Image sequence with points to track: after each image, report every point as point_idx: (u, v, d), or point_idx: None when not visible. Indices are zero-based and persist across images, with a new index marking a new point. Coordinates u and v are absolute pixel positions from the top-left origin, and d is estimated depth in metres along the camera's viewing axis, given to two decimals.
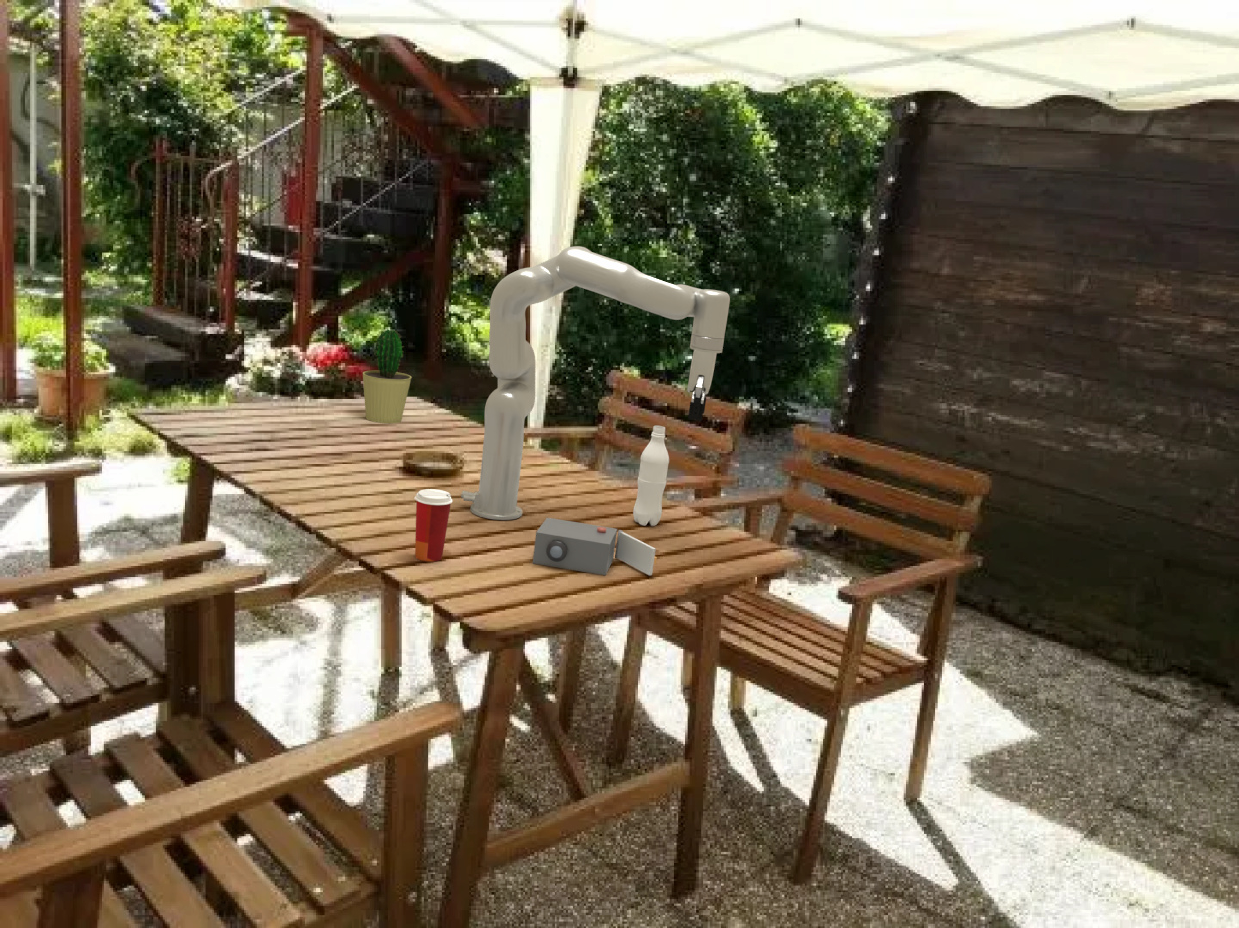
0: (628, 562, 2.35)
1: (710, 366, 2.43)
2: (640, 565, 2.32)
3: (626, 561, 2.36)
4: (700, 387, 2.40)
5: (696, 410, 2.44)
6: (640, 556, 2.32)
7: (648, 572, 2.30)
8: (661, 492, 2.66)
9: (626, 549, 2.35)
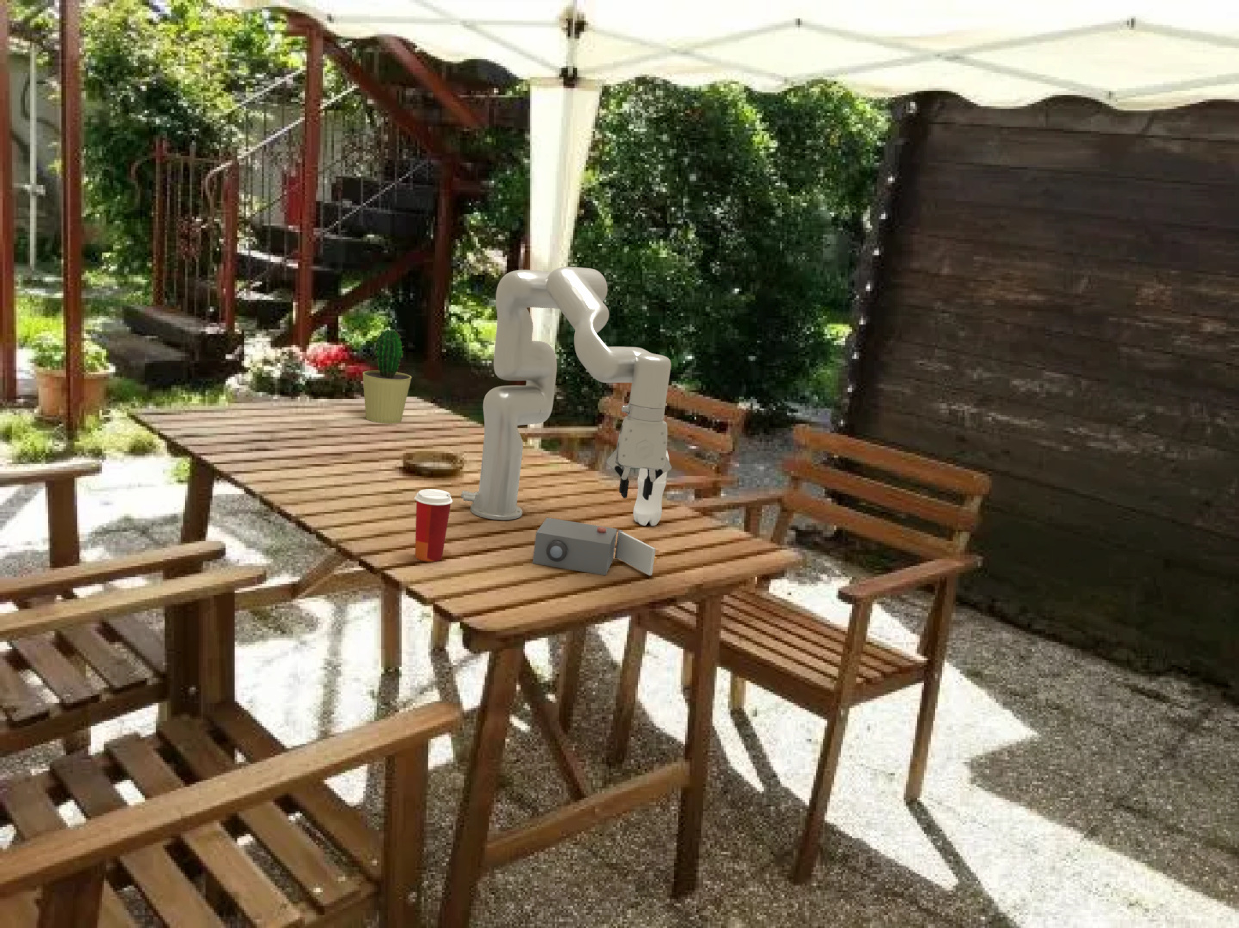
0: (628, 562, 2.35)
1: None
2: (640, 565, 2.32)
3: (626, 561, 2.36)
4: None
5: None
6: (640, 556, 2.32)
7: (648, 572, 2.30)
8: (661, 492, 2.66)
9: (626, 549, 2.35)
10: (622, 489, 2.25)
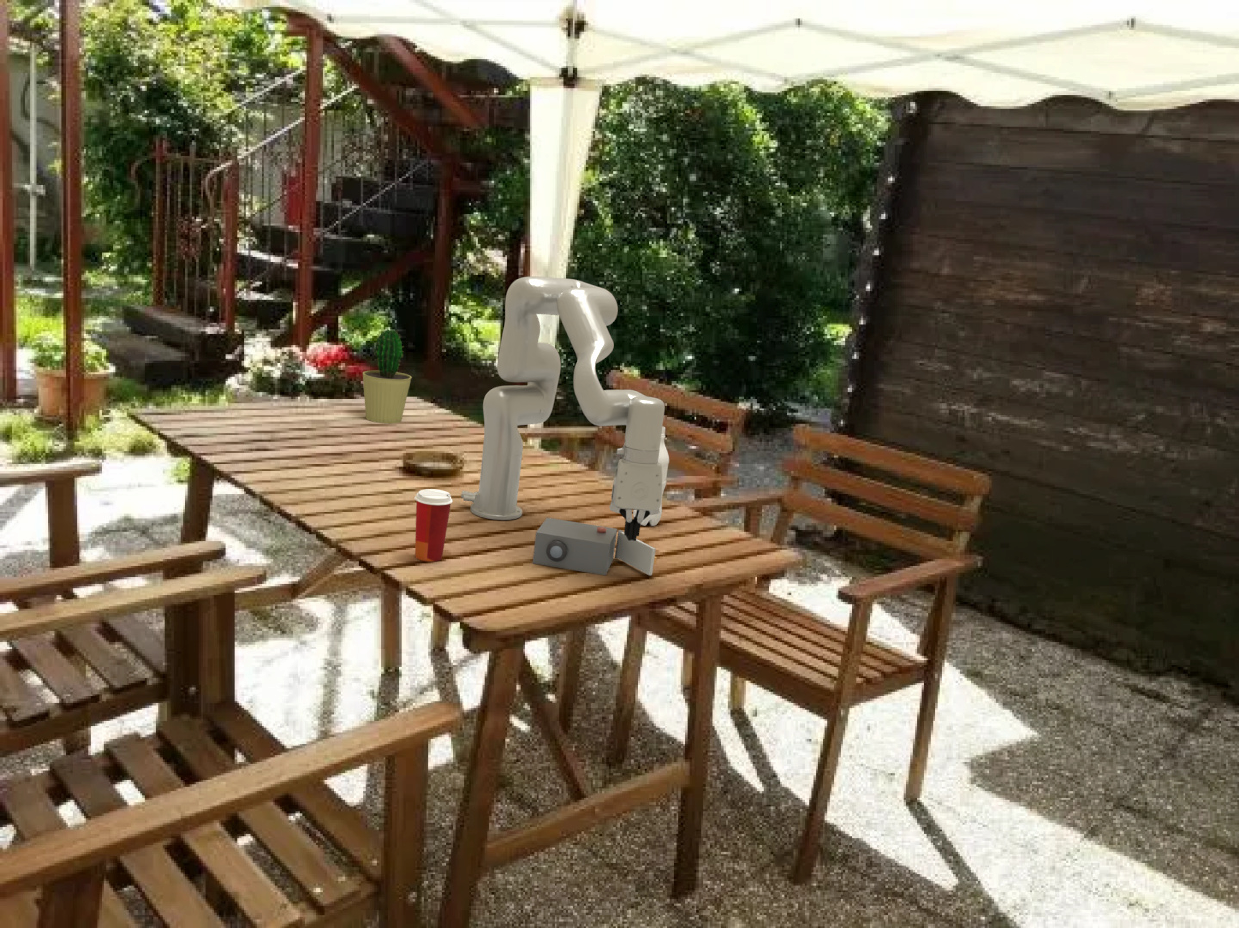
0: (628, 562, 2.35)
1: None
2: (640, 565, 2.32)
3: (626, 561, 2.36)
4: None
5: None
6: (640, 556, 2.32)
7: (648, 572, 2.30)
8: None
9: (626, 549, 2.35)
10: (627, 531, 2.27)
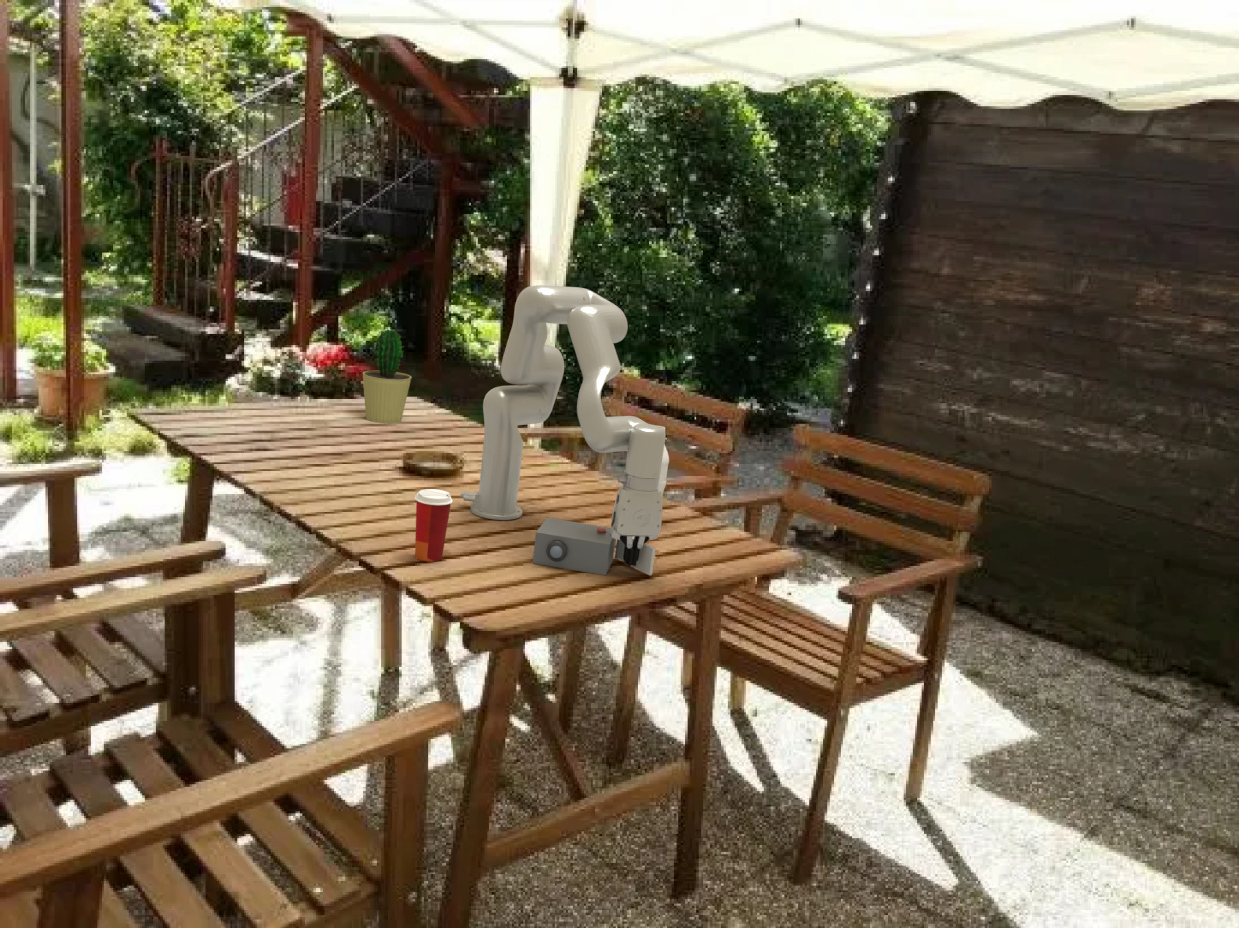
0: None
1: None
2: (640, 565, 2.32)
3: None
4: None
5: None
6: (640, 556, 2.32)
7: (648, 572, 2.30)
8: None
9: None
10: (627, 557, 2.29)
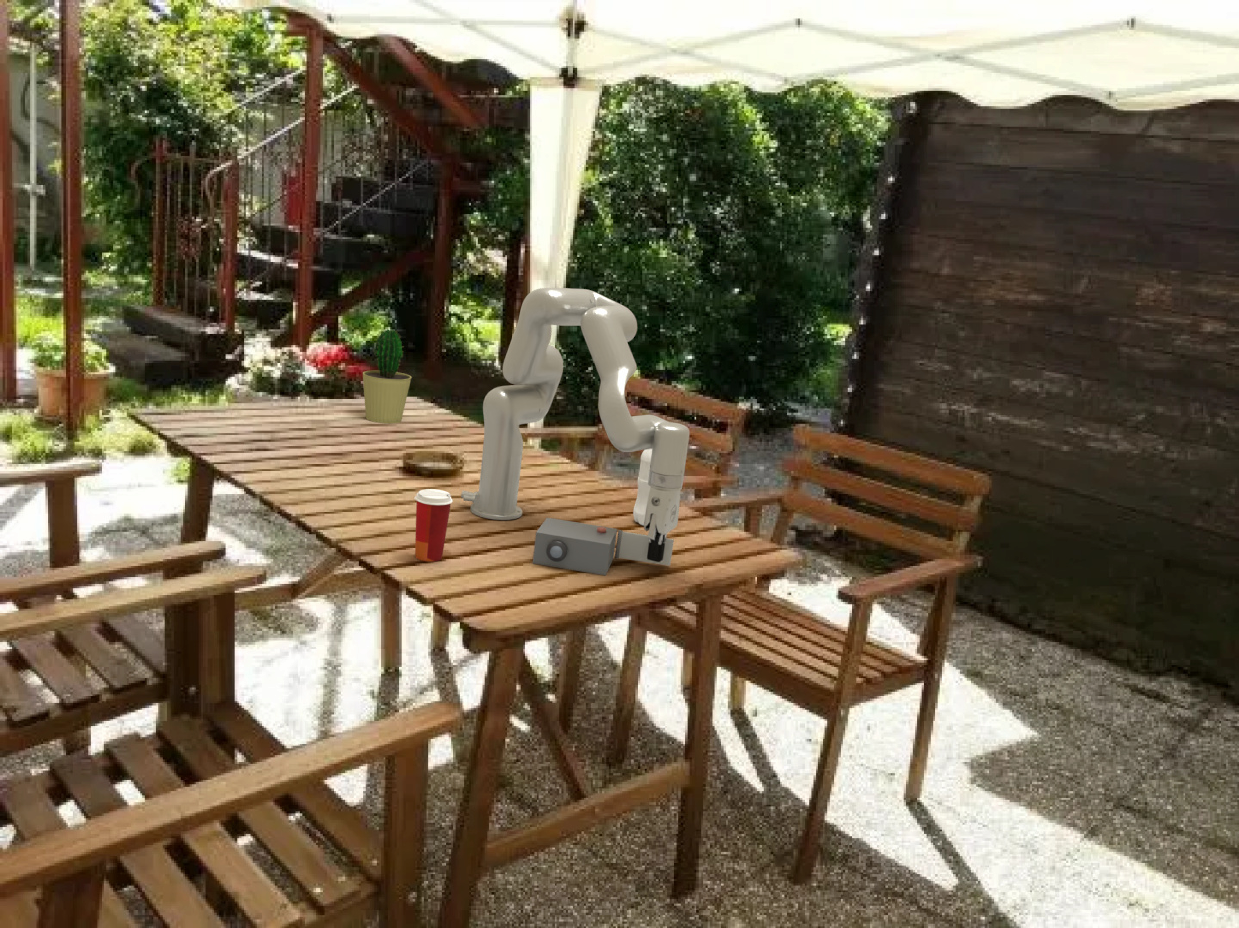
0: (638, 558, 2.38)
1: None
2: None
3: (634, 558, 2.38)
4: None
5: None
6: None
7: (668, 563, 2.38)
8: None
9: (633, 547, 2.38)
10: (657, 554, 2.33)
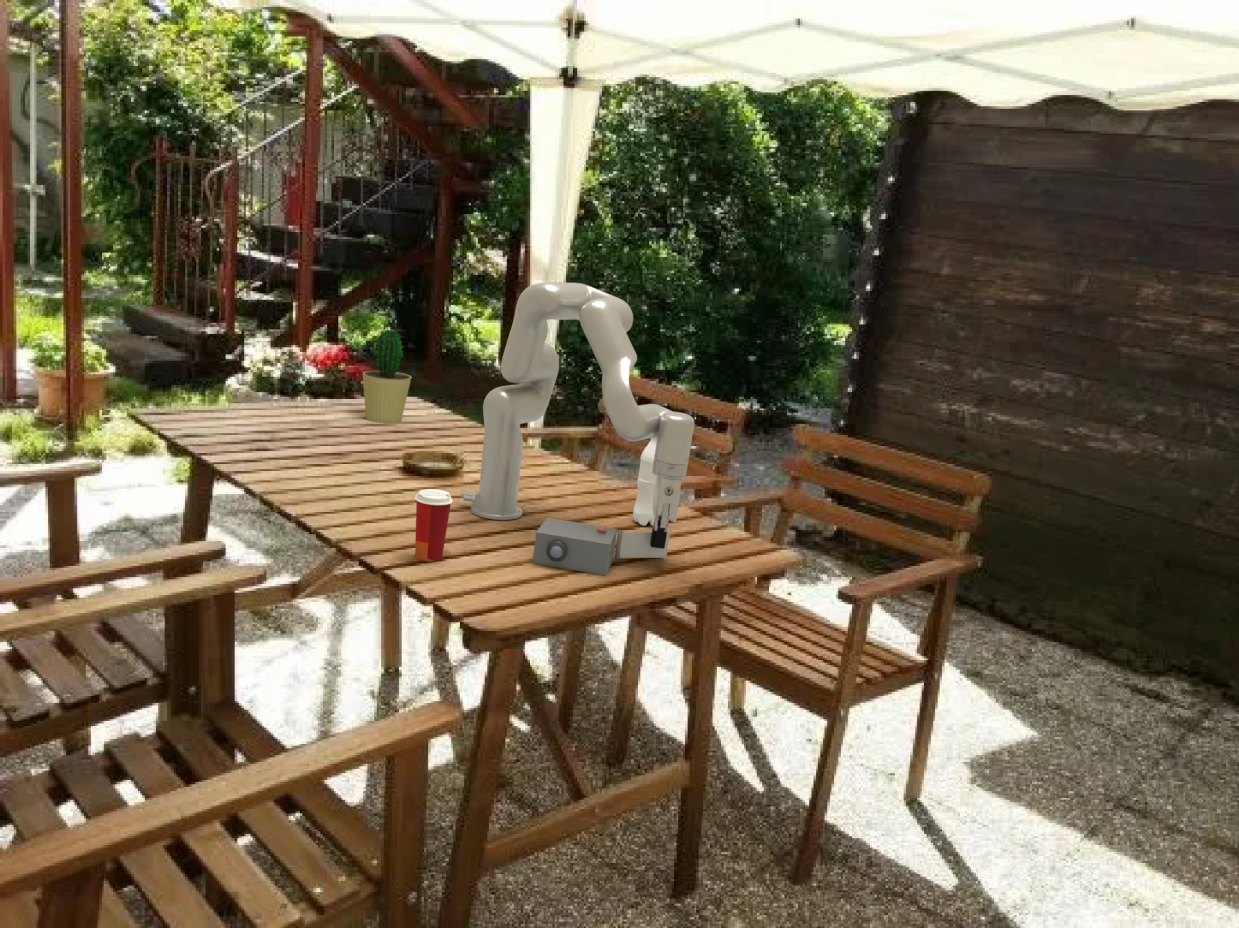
0: (637, 555, 2.40)
1: None
2: (654, 552, 2.42)
3: (633, 556, 2.40)
4: None
5: None
6: None
7: (665, 555, 2.43)
8: None
9: (633, 545, 2.39)
10: (662, 541, 2.38)
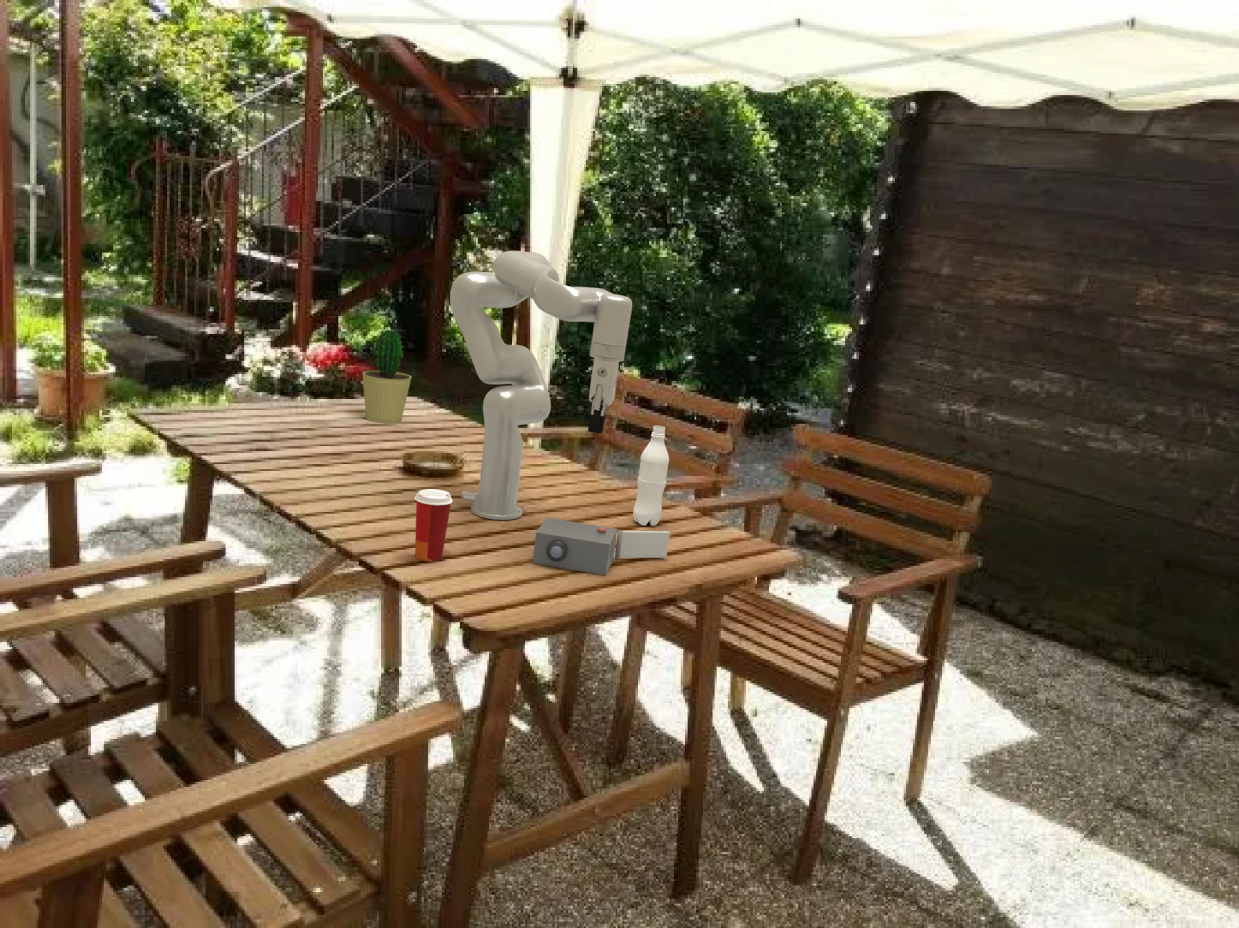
0: (637, 555, 2.40)
1: None
2: (654, 552, 2.42)
3: (633, 556, 2.40)
4: None
5: None
6: (653, 544, 2.41)
7: (665, 555, 2.43)
8: (661, 492, 2.66)
9: (633, 545, 2.39)
10: (599, 426, 2.36)
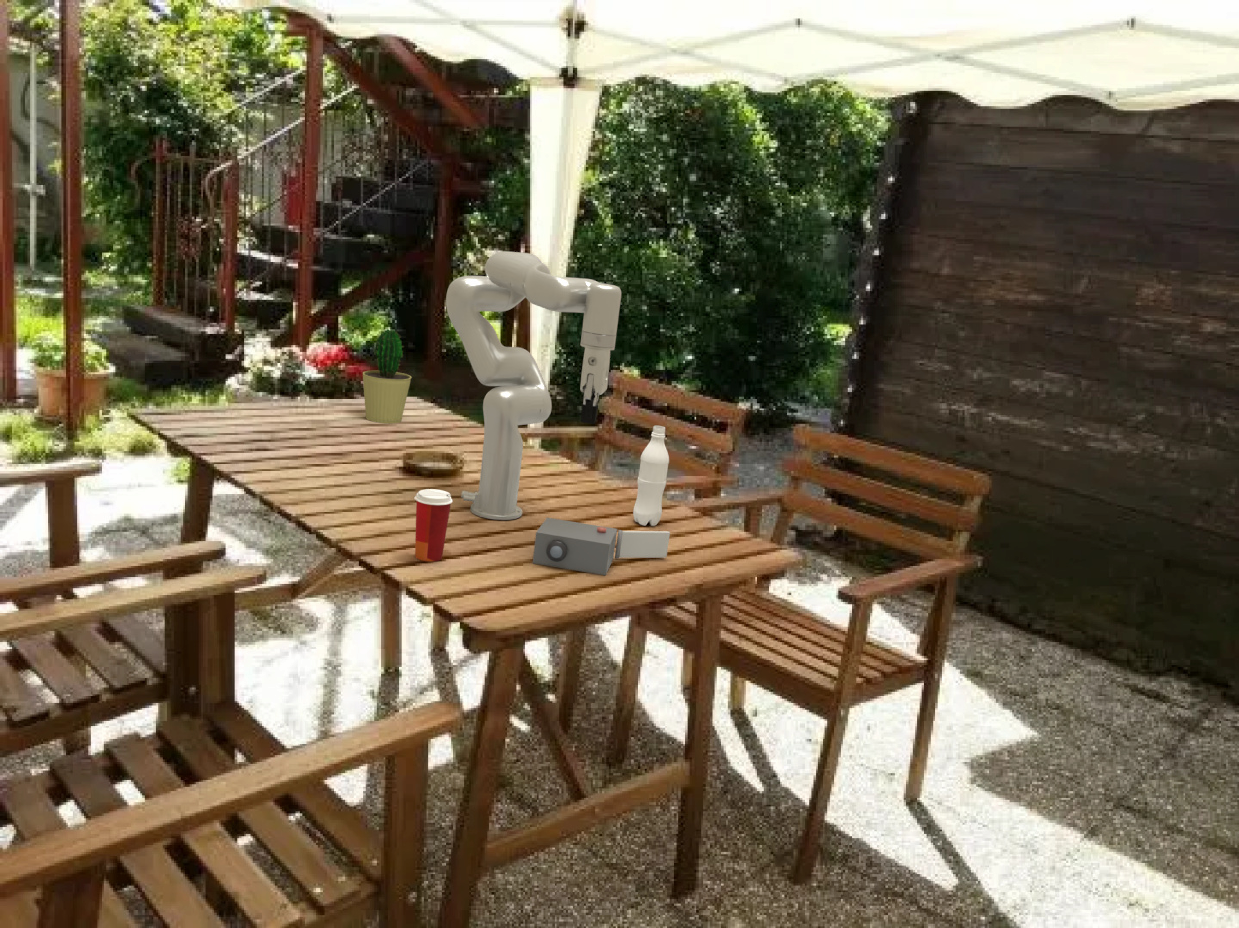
0: (637, 555, 2.40)
1: None
2: (654, 552, 2.42)
3: (633, 556, 2.40)
4: None
5: None
6: (653, 544, 2.41)
7: (665, 555, 2.43)
8: (661, 492, 2.66)
9: (633, 545, 2.39)
10: (591, 416, 2.36)
